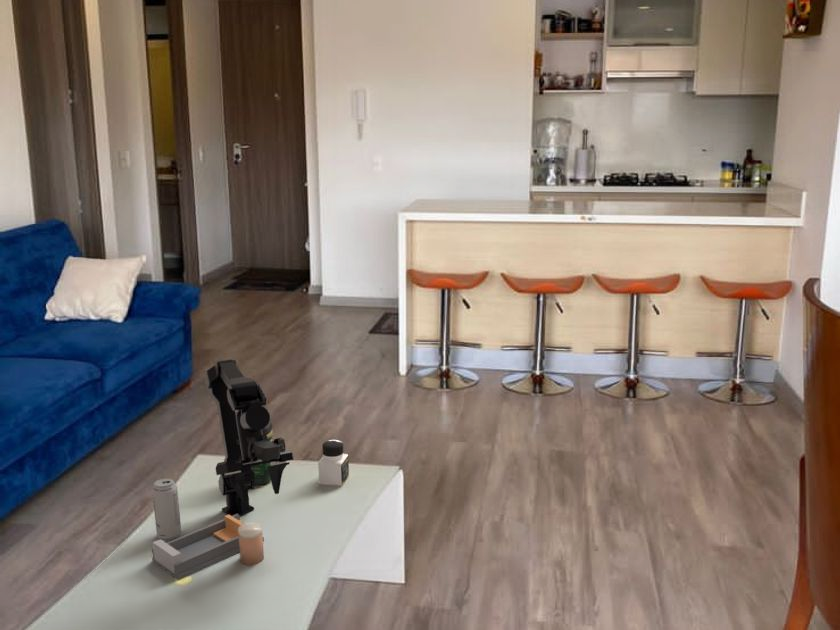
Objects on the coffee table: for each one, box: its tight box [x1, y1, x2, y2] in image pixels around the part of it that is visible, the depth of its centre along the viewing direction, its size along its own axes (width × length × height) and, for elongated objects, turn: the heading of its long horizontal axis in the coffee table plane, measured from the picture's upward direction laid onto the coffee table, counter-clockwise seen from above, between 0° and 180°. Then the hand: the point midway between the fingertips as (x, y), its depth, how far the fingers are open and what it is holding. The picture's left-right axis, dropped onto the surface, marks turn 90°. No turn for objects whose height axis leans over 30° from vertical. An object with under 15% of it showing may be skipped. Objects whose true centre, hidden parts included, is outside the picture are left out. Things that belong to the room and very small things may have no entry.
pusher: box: [213, 514, 245, 542], centre depth 200 cm, size 8×5×4 cm, turn 46°
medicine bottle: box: [317, 439, 350, 487], centre depth 233 cm, size 7×7×12 cm
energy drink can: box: [152, 477, 182, 542], centre depth 202 cm, size 6×6×15 cm
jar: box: [238, 521, 265, 566], centre depth 192 cm, size 6×6×8 cm
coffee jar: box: [250, 419, 274, 486], centre depth 234 cm, size 10×8×19 cm
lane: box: [151, 514, 265, 580], centre depth 196 cm, size 12×24×6 cm, turn 136°
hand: (261, 497), depth 191 cm, fingers open, 9 cm apart
